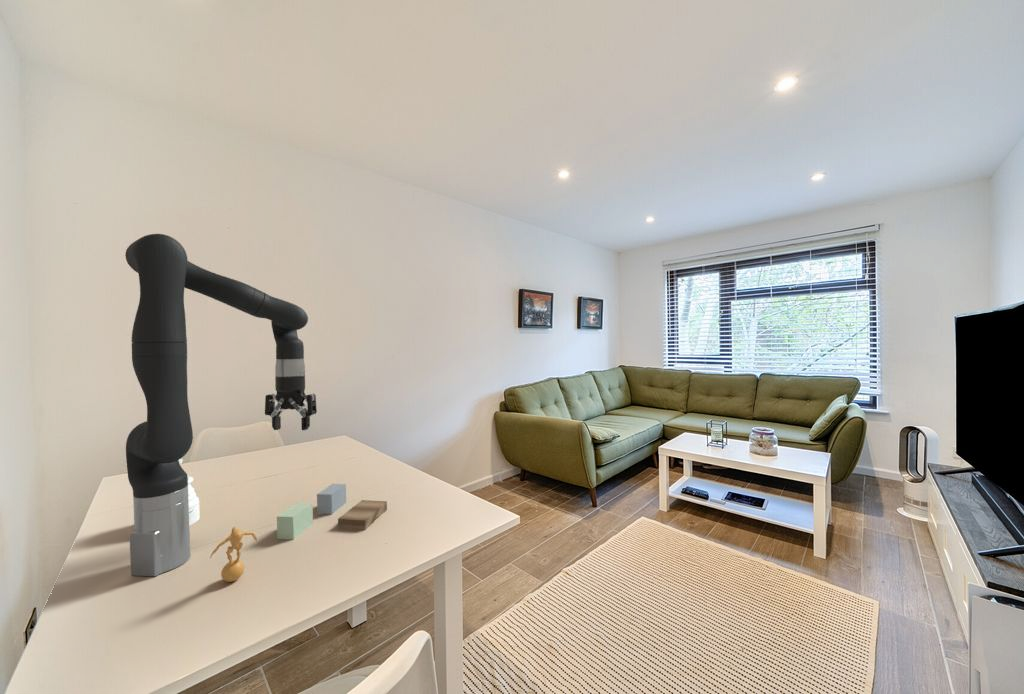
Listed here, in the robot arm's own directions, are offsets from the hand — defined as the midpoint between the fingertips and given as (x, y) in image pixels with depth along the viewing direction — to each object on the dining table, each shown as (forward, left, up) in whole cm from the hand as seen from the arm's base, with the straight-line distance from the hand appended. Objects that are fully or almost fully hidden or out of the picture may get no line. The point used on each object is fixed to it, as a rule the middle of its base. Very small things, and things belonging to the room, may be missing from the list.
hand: (291, 429), depth 110 cm
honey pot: (-7, +32, -26) cm, 41 cm away
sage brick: (-9, -7, -25) cm, 28 cm away
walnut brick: (-1, -22, -26) cm, 34 cm away
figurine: (-30, -8, -25) cm, 40 cm away
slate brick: (+5, -9, -25) cm, 27 cm away
